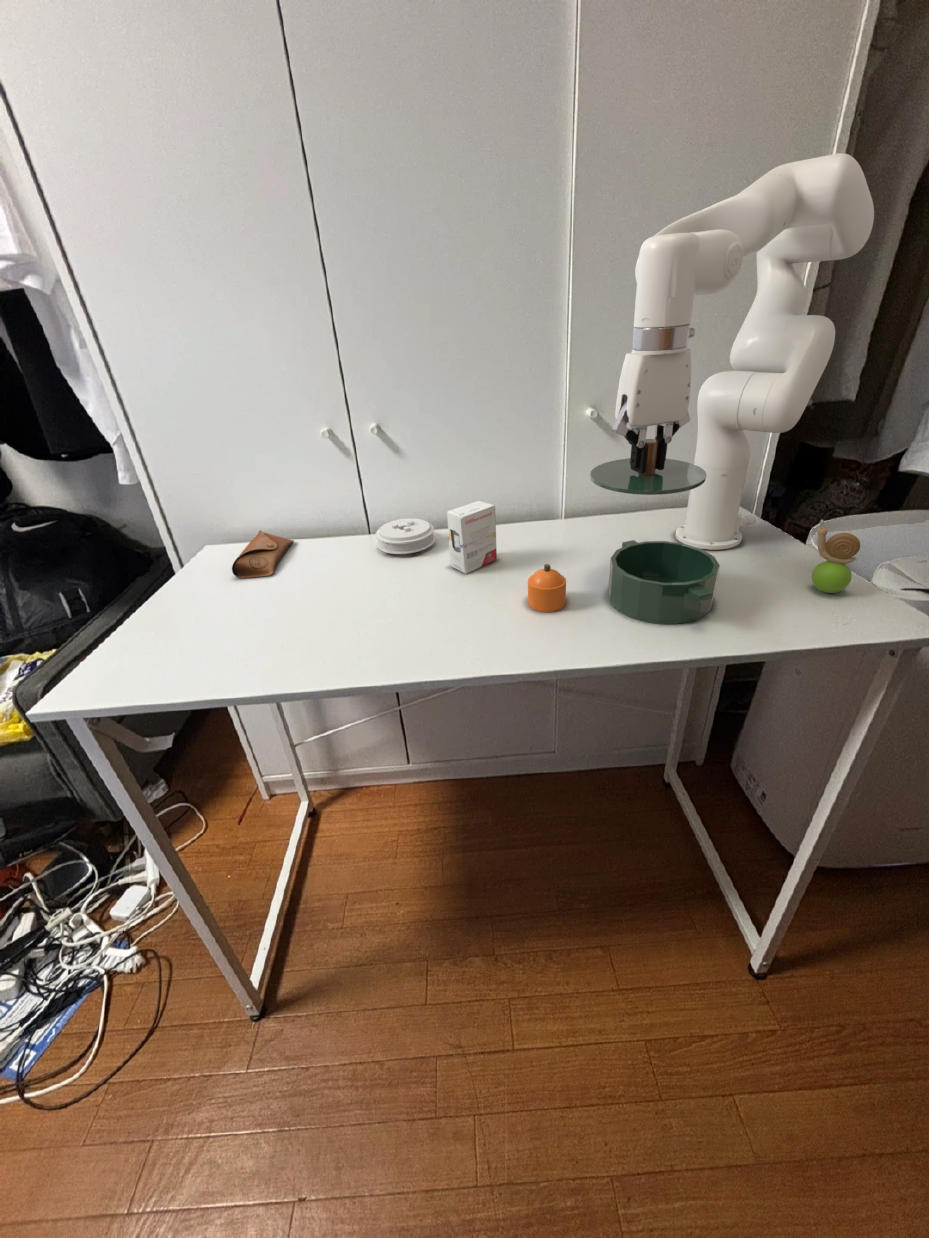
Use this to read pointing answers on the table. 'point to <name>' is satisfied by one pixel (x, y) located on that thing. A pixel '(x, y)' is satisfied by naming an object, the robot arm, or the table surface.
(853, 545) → the snail figurine
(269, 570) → the sunglasses case
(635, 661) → the table surface
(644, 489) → the crock lid
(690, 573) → the crock
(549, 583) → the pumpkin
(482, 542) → the ink box
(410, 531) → the white flat cylinder
